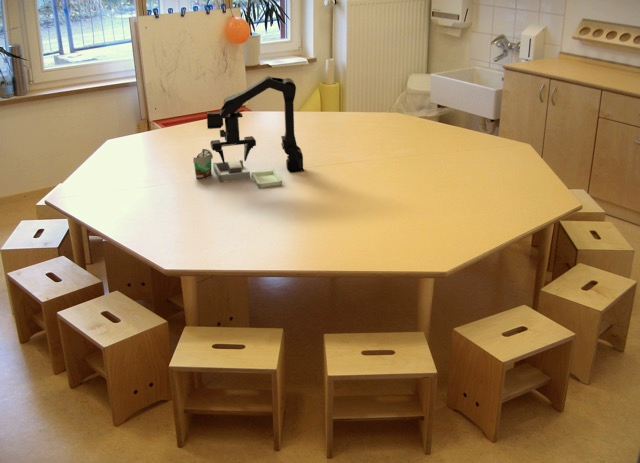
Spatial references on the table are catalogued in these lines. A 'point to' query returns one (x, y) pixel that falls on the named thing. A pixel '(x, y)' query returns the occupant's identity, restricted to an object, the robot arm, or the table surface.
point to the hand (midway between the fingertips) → (234, 162)
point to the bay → (229, 176)
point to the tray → (266, 179)
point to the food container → (203, 164)
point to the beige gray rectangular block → (234, 166)
